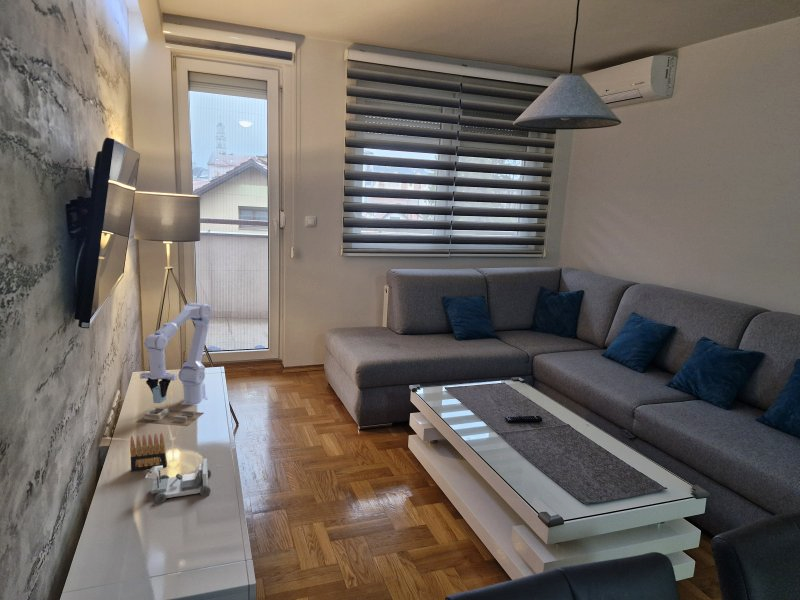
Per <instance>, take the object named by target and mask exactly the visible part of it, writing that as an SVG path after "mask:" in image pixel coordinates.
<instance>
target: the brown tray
mask: <svg viewBox="0 0 800 600" xmlns="http://www.w3.org/2000/svg"><path fill="white" fill-rule="evenodd" d="M203 414H205V412H198V411H195V410H191V409H190V410H188V409H187V410H186V409H182V410H171V409H170V408H169V407H168V408H167V407H158V406H157V407H155V406H154V407H152V409H150V410H148V411H146V412H145V413H143V416H142V417H141V418H140V419H138V420H137V421H135V423H143V424H156V425H157V424H158V425H169V426H170V425H171V426H181V427H182V426H183V427H189V426H190V425H191V424H193V422H195V421H197V419H199V418H200V417H201V416H202V415H203Z"/></svg>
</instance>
